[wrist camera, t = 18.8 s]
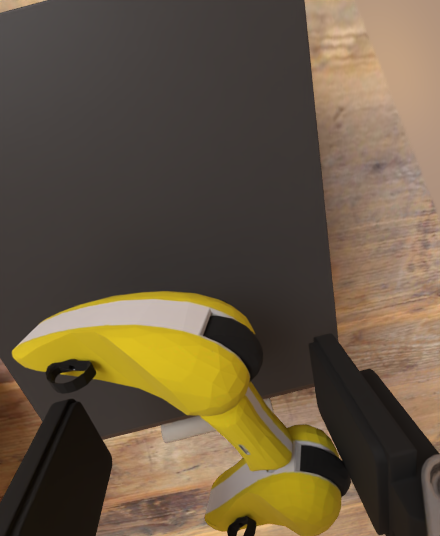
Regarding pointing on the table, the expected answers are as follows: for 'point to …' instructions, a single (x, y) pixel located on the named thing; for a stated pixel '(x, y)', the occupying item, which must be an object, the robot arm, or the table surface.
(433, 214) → the table surface
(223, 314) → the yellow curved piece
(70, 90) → the cabinet
